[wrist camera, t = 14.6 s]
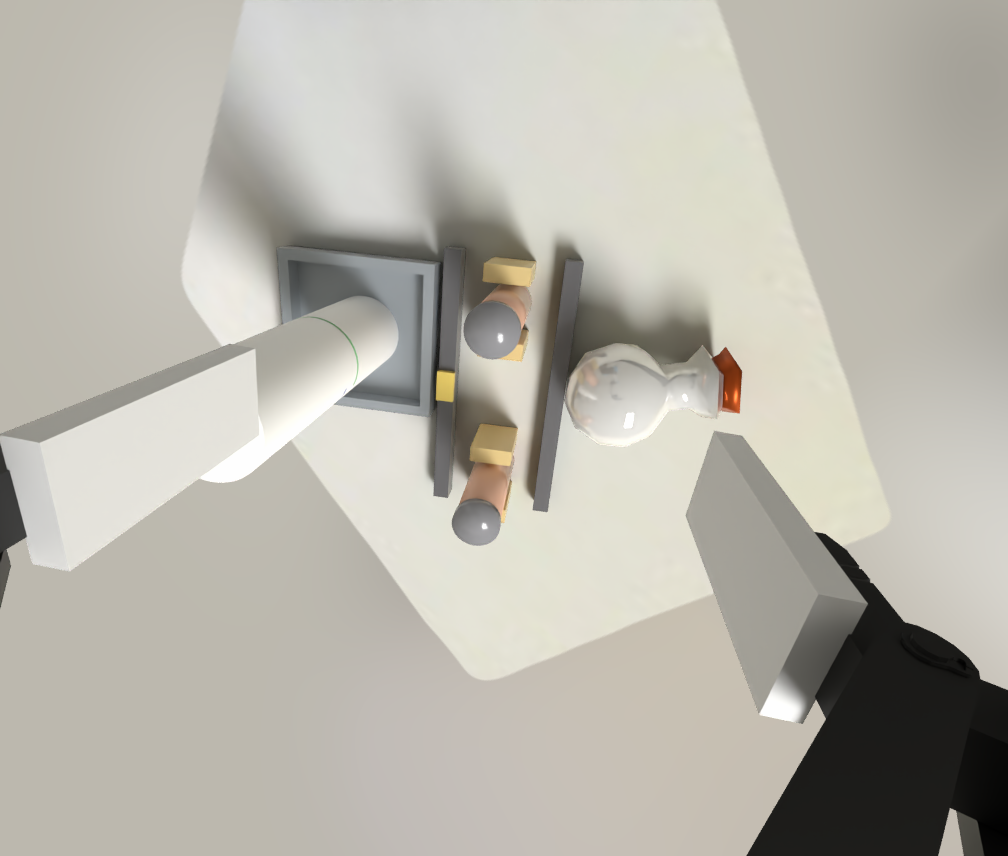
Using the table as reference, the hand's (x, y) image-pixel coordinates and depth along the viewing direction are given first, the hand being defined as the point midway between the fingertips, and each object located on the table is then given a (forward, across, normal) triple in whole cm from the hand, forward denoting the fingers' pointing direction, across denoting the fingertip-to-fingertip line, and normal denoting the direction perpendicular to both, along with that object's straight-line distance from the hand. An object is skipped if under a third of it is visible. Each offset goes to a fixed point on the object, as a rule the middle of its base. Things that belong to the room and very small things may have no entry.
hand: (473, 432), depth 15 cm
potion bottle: (+38, +11, -8) cm, 40 cm away
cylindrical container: (+37, -17, -8) cm, 41 cm away
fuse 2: (+37, -2, -20) cm, 42 cm away
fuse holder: (+37, -2, -11) cm, 39 cm away
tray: (+37, -17, -8) cm, 42 cm away
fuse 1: (+37, -3, -3) cm, 38 cm away
